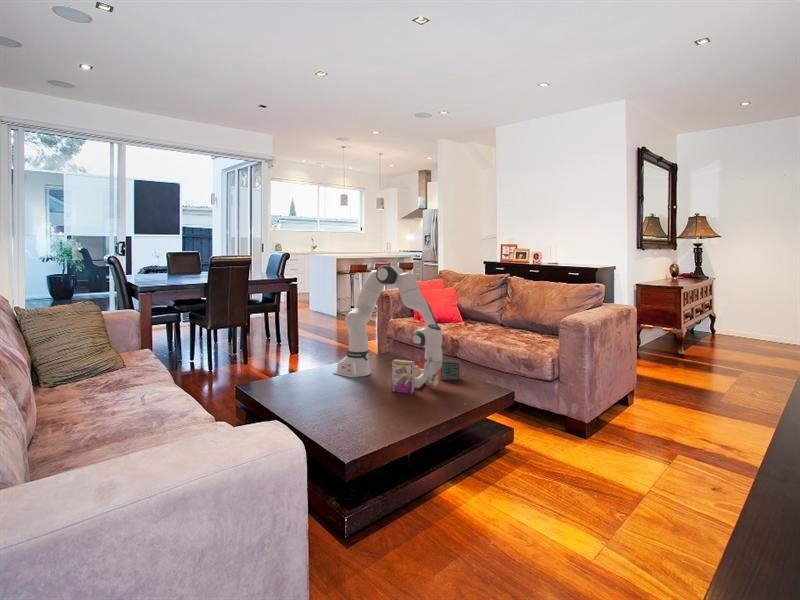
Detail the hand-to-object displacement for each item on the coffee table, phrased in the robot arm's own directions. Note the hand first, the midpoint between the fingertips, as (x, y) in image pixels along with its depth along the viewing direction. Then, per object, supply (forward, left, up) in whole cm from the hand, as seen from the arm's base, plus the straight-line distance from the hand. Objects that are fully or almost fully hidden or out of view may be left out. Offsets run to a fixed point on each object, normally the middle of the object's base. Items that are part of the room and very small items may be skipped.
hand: (432, 381), depth 239 cm
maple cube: (0, 0, -2) cm, 2 cm away
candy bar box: (-13, -10, -5) cm, 17 cm away
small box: (+4, +21, -5) cm, 22 cm away
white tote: (-14, +7, -4) cm, 17 cm away
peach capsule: (-14, +12, -4) cm, 19 cm away
